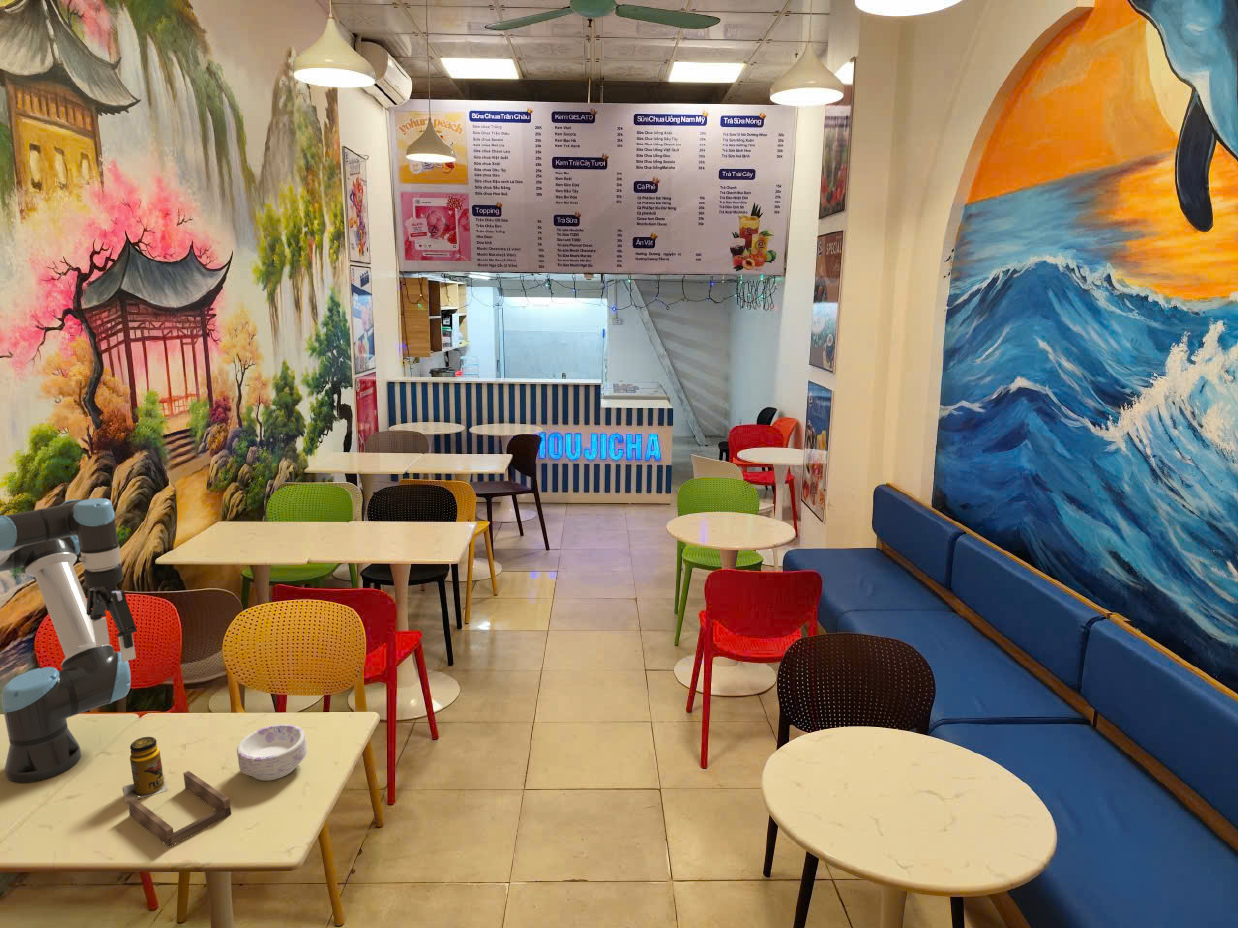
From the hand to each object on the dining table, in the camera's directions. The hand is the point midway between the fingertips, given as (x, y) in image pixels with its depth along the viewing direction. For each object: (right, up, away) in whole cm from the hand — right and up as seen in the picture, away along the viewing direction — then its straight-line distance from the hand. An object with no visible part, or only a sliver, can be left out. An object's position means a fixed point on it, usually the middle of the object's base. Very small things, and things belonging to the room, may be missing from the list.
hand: (115, 652), depth 192 cm
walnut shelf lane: (+21, -34, -11) cm, 41 cm away
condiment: (+8, -32, -1) cm, 33 cm away
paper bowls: (+35, -30, +6) cm, 46 cm away
